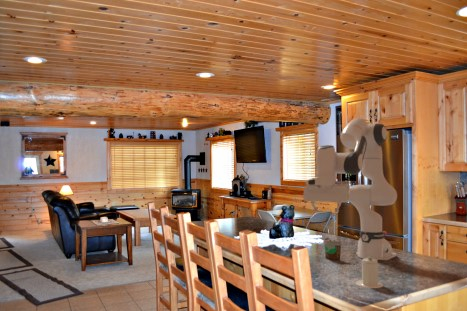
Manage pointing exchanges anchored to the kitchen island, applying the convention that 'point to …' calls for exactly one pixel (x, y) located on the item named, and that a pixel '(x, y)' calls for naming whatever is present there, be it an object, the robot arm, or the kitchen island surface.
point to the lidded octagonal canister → (370, 271)
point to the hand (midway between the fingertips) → (326, 211)
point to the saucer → (368, 286)
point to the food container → (332, 249)
